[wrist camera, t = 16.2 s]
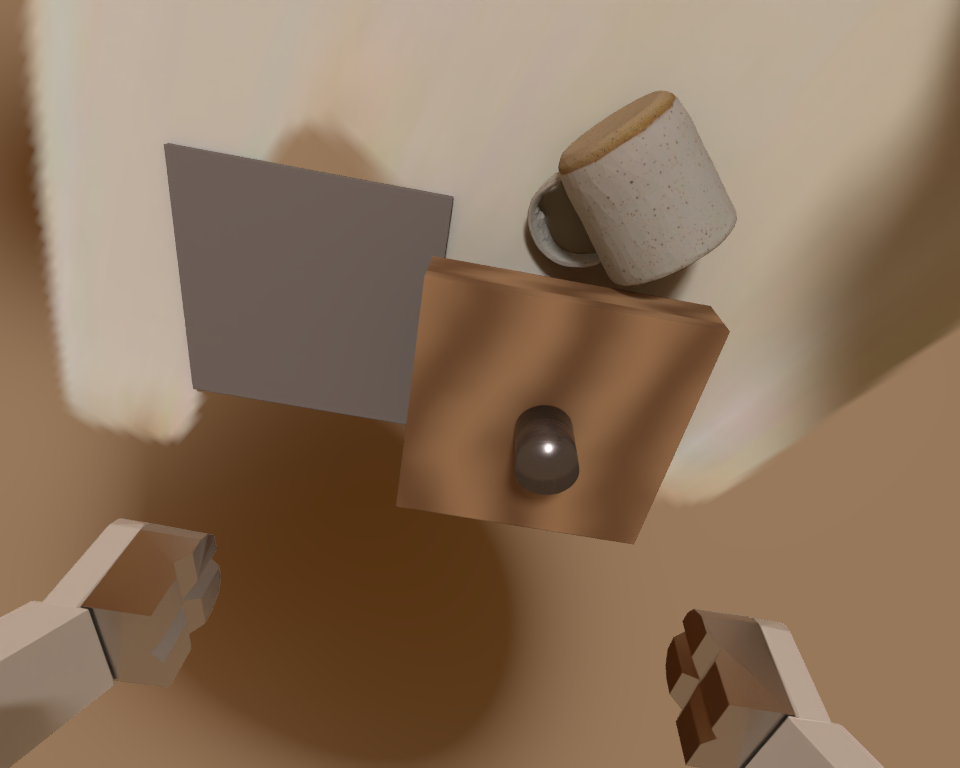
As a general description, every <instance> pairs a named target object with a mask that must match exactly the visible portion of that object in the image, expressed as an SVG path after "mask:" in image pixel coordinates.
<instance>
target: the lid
mask: <svg viewBox="0 0 960 768" xmlns="http://www.w3.org/2000/svg"><path fill="white" fill-rule="evenodd" d="M729 332H730V331H729V330H728V328H727V327H726V326H725V325H724V323H723V322H722V321H721V319H720V318H719V317H718V315H717V314H716V313H715V311H714V310H713V309H712V307H711V306H707V305H701V304H696V303H690V302H684V301H679V300H673V299H668V298H662V297H657V296H651V295H646V294H640V293H635V292H629V291H624V290H618V289H612V288H607V287H601V286H596V285H590V284H585V283H579V282H574V281H568V280H563V279H557V278H552V277H546V276H541V275H535V274H529V273H524V272H518V271H513V270H507V269H502V268H496V267H491V266H485V265H480V264H474V263H469V262H463V261H457V260H452V259H446V258H441V257H435V256H432V258H431V261H430V263H429V266H428V269H427V271H426V274H425V276H424V284H423V292H422V300H421V308H420V316H419V324H418V333H417V341H416V349H415V357H414V365H413V373H412V381H411V390H410V398H409V406H408V414H407V422H406V431H405V439H404V448H403V456H402V464H401V472H400V480H399V488H398V496H397V505H396V506H397V507H403V508H409V509H415V510H422V511H428V512H434V513H441V514H447V515H453V516H460V517H466V518H472V519H478V520H485V521H491V522H497V523H503V524H509V525H516V526H522V527H528V528H535V529H541V530H547V531H553V532H560V533H566V534H572V535H578V536H585V537H591V538H597V539H603V540H610V541H616V542H622V543H628V544H634V543H635V541H636V539H637V536H638V534H639V532H640V530H641V528H642V525H643V523H644V521H645V519H646V516H647V514H648V512H649V510H650V507H651V505H652V503H653V501H654V499H655V497H656V494H657V492H658V490H659V488H660V486H661V483H662V481H663V479H664V477H665V474H666V472H667V470H668V468H669V466H670V463H671V461H672V459H673V457H674V454H675V452H676V450H677V448H678V446H679V443H680V441H681V439H682V437H683V434H684V432H685V430H686V428H687V426H688V423H689V421H690V419H691V417H692V415H693V412H694V410H695V408H696V406H697V403H698V401H699V399H700V397H701V395H702V392H703V390H704V388H705V386H706V383H707V381H708V379H709V377H710V375H711V372H712V370H713V368H714V366H715V363H716V361H717V359H718V357H719V355H720V352H721V350H722V348H723V346H724V344H725V341H726V339H727V337H728V335H729Z"/></svg>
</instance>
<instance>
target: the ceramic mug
mask: <svg viewBox="0 0 960 768" xmlns="http://www.w3.org/2000/svg"><path fill="white" fill-rule="evenodd" d="M558 168H559V172H558V173H555V174H554V175H553V176H552V177H551V178H549V179H548V180H547V181H546V182H545V183H544V184H543V185H542V186H541V187H540V189H539V190H538V191H537V192H536V193H535V195H534V197H533V198H532V200H531V203H530V206H529V210H528V218H527V221H528V227H529V231H530V234H531V237H532V239H533V241H534V242H535V244H536V246H537V247H538V249H539V250H540V252H541V253H542V254H543V255H544V256H545V257H547V258H548V259H549V260H551V261H553V262H555V263H557V264H560V265H563V266H567V267H574V268H584V267H593V266H599V265H603V267H604V269H605V271H606V273H607V275H608V277H609V278H610V279H611V280H612V282H613V283H615V284H618V285H623V286H631V285H639V284H644V283H647V282H650V281H654V280H658V279H660V278H663V277H666V276H669V275H671V274H672V273H675V272H677V271H679V270H681V269H683V268H685V267H687V266H689V265H691V264H692V263H694V262H695V261H697V260H698V259H700V258H701V257H703V256H705V255H706V254H708V253H709V252H711V251H712V250H713V249H715V248H716V247H717V246H719V245H720V244H721V243H722V242H723V241H724V240H725V239H726V238H727V236H728V235H729V234H730V232H731V231H732V229H733V228H734V226H735V224H736V220H737V216H736V211H735V208H734V206H733V204H732V202H731V200H730V198H729V196H728V195H727V193H726V190H725V188H724V186H723V184H722V182H721V180H720V177H719V175H718V173H717V171H716V169H715V167H714V165H713V163H712V161H711V159H710V157H709V155H708V153H707V151H706V149H705V148H704V146H703V143H702V141H701V139H700V136H699V134H698V132H697V130H696V127H695V125H694V123H693V121H692V119H691V117H690V115H689V114H688V112H687V111H686V109H685V108H684V107H683V106H682V104H681V103H680V101H679V100H678V98H677V97H676V96H675V95H674V94H673V93H670V92H667V91H656V92H653V93H650V94H648V95H645V96H643V97H641V98H639V99H637V100H636V101H634V102H632V103H630V104H628V105H627V106H625V107H623V108H622V109H620V110H618V111H617V112H615V113H613V114H612V115H610V116H609V117H607V118H606V119H604V120H603V121H601V122H600V123H598V124H597V125H595V126H594V127H593V128H591V129H590V130H589V131H587V132H586V133H584V134H583V135H582V136H581V137H579V138H578V139H577V140H576V141H574V142H573V143H572V144H571V145H570V146H569V147H568V148H567V149H566V150H565V151H564V153H563V154H562V155H561V159H560V162H559V167H558ZM559 183H563V186H564V188H565V191H566V193H567V196H568V198H569V200H570V201H571V203H572V205H573V207H574V209H575V211H576V212H577V214H578V216H579V218H580V220H581V221H582V223H583V225H584V228H585V230H586V232H587V234H588V236H589V238H590V240H591V243H592V245H593V247H594V249H595V251H596V253H588V254H576V253H572V252H568V251H566V250H563V249H562V248H560V247H559V246H558V244H556V243H555V242H554V240H553V238H552V236H551V234H550V232H549V230H548V228H547V226H546V223H545V220H544V219H545V215H544V214H543V212H542V211H541V210H540V203H541V200H542V198H543V196H544V194H545V193H546V192H547V191H548V190H550V189H551V188H552V187H554V186H556V185H557V184H559Z"/></svg>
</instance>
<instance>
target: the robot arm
mask: <svg viewBox="0 0 960 768" xmlns="http://www.w3.org/2000/svg"><path fill="white" fill-rule="evenodd" d="M216 549H217V548H216V543H215V538H214V535H210V534H205V533H200V532H194V531H189V530H184V529H178V528H173V527H167V526H162V525H156V524H151V523H145V522H139V521H133V520H127V519H121V518H120V519H118V520H116V521H115V522H113V523H111V524H110V525H108V526H107V528H106V529H105V530H104V531H103V532H102V533H101V535H100V536H99V537H98V538H97V539H96V540H95V542H94V543H93V544H92V545H91V546H90V547H89V548H88V550H87V551H86V552H85V553H84V554H83V555H82V556H81V558H80V559H79V560H78V561H77V562H76V563H75V565H74V566H73V567H72V568H71V569H70V570H69V572H68V573H67V574H66V575H65V576H64V577H63V578H62V580H61V581H60V582H59V583H58V584H57V585H56V587H55V588H54V589H53V590H52V591H51V592H50V594H49V595H48V596H47V597H46V598H45V599H44V600H43V602H41V601H31V602H29V603H27V604H25V605H23V606H21V607H19V608H17V609H15V610H13V611H12V612H10V613H8V614H6V615H4V616H2V617H0V768H9V767H11V766H12V765H13V764H15V763H16V762H17V761H18V760H20V759H21V758H22V757H23V756H25V755H26V754H27V753H29V752H30V751H31V750H32V749H34V748H35V747H36V746H37V745H39V744H40V743H41V742H42V741H44V740H45V739H46V738H47V737H49V736H50V735H51V734H53V733H54V732H55V731H56V730H57V729H59V728H60V727H61V726H63V725H64V724H65V723H66V722H68V721H69V720H70V719H72V718H73V717H74V716H75V715H76V714H78V713H79V712H80V711H82V710H83V709H84V708H85V707H87V706H88V705H89V704H90V703H92V702H93V701H94V700H95V699H97V698H98V697H99V696H100V695H102V694H103V693H104V692H106V691H107V690H108V689H109V688H111V687H112V686H113V685H114V684H115V682H114V681H121V682H129V683H138V684H145V685H154V686H162V687H170V686H171V684H172V682H173V680H174V679H175V677H176V675H177V673H178V671H179V670H180V668H181V666H182V664H183V662H184V661H185V659H186V657H187V655H188V653H189V652H190V650H191V642H190V637H189V634H190V633H191V632H193V631H194V630H195V629H197V628H199V627H200V626H201V625H203V624H204V623H205V622H206V621H207V619H208V617H209V615H210V613H211V611H212V609H213V607H214V604H215V601H216V598H217V595H218V592H219V588H220V578H221V575H220V568H219V566H218V565H217V564H216V563H215V562H214V561H213V560H212V559H211V558H212V556H213V554H214V552H215V551H216ZM683 625H684V629H685V632H683V633H681V634H679V635H677V636H675V637H673V640H672V642H671V644H670V646H669V648H668V651H667V658H666V679H667V684H668V689H669V693H670V695H671V696H672V698H673V699H674V700H675V701H676V703H677V704H678V705H679V706H680V708H681V709H682V710H681V712H680V714H679V716H678V718H677V720H676V725H677V729H678V734H679V737H680V742H681V746H682V751H683V755H684V759H685V764H686V765H688V766H693V767H699V768H884V767H883V766H882V765H881V764H880V763H879V762H878V761H877V760H876V759H875V758H874V757H873V756H872V755H871V754H870V753H869V752H868V751H867V750H866V749H865V748H864V747H863V746H862V745H861V744H860V743H859V742H858V741H857V740H856V739H855V738H854V737H853V736H852V735H851V734H850V733H849V732H848V731H847V730H846V729H845V728H844V727H843V726H842V725H841V724H837V723H832V722H831V720H830V719H829V716H828V714H827V712H826V709H825V707H824V706H823V703H822V701H821V699H820V696H819V694H818V692H817V690H816V688H815V685H814V683H813V681H812V679H811V677H810V675H809V672H808V670H807V668H806V666H805V664H804V662H803V659H802V657H801V655H800V653H799V651H798V648H797V646H796V644H795V642H794V640H793V637H792V635H791V633H790V631H789V629H788V628H787V627H786V626H785V625H784V624H783V623H781V622H775V621H769V620H762V619H755V618H749V617H747V616H740V615H733V614H726V613H718V612H712V611H704V610H698V609H693V610H691V611H689V612H688V613H687V615H686V616H685V618H684V620H683Z"/></svg>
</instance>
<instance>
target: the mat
mask: <svg viewBox="0 0 960 768" xmlns="http://www.w3.org/2000/svg"><path fill="white" fill-rule="evenodd" d="M164 149H165V158H166V166H167V174H168V183H169V191H170V199H171V208H172V216H173V225H174V233H175V241H176V250H177V258H178V267H179V275H180V283H181V292H182V300H183V309H184V317H185V325H186V334H187V342H188V351H189V359H190V367H191V376H192V384H193V389H198V390H204V391H210V392H215V393H222V394H227V395H233V396H240V397H246V398H251V399H257V400H263V401H269V402H275V403H281V404H287V405H293V406H299V407H305V408H311V409H317V410H322V411H329V412H334V413H340V414H346V415H352V416H358V417H364V418H370V419H376V420H382V421H388V422H394V423H400V424H406V422H407V414H408V406H409V398H410V390H411V381H412V373H413V365H414V357H415V349H416V341H417V333H418V324H419V316H420V308H421V300H422V292H423V284H424V276H425V274H426V271H427V269H428V266H429V263H430V261H431V258H432V256H435V257H441V258H445V253H446V246H447V239H448V232H449V225H450V218H451V211H452V204H453V196H447V195H442V194H437V193H431V192H426V191H421V190H415V189H410V188H405V187H399V186H394V185H388V184H383V183H378V182H372V181H367V180H362V179H356V178H351V177H346V176H340V175H335V174H329V173H324V172H319V171H313V170H308V169H303V168H297V167H292V166H287V165H281V164H276V163H271V162H266V161H260V160H255V159H250V158H244V157H239V156H234V155H228V154H223V153H218V152H212V151H207V150H202V149H196V148H191V147H186V146H180V145H175V144H170V143H167V144H164Z"/></svg>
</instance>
